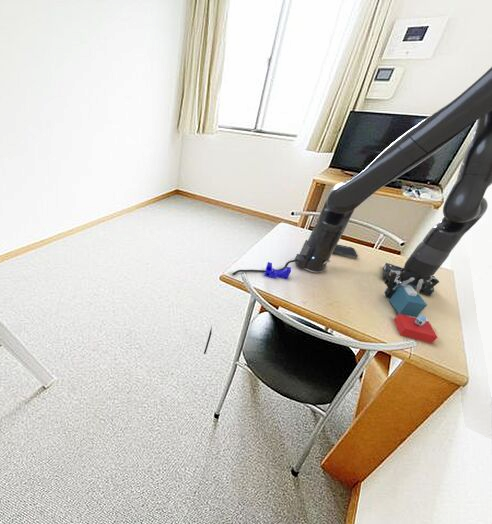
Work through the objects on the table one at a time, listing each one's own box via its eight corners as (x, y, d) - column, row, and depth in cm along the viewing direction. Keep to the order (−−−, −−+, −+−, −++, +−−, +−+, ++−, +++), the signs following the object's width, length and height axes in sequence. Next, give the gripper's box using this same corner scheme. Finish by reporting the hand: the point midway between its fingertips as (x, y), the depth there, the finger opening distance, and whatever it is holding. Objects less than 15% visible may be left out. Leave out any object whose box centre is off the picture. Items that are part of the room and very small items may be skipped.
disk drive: (381, 280, 113) (430, 296, 107) (385, 274, 112) (435, 290, 105) (382, 268, 120) (428, 282, 114) (385, 262, 119) (432, 276, 112)
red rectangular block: (400, 334, 90) (412, 320, 87) (393, 319, 96) (404, 305, 92) (431, 343, 88) (445, 328, 85) (423, 327, 93) (435, 313, 90)
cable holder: (264, 275, 110) (267, 267, 108) (264, 270, 113) (267, 262, 111) (287, 281, 108) (291, 272, 106) (286, 276, 111) (290, 267, 109)
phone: (316, 239, 133) (353, 247, 130) (315, 242, 134) (352, 249, 130) (318, 248, 127) (358, 257, 123) (317, 250, 128) (356, 259, 124)
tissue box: (399, 314, 96) (411, 298, 92) (383, 292, 105) (394, 277, 101) (416, 317, 96) (429, 302, 92) (399, 295, 104) (411, 280, 101)
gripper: (445, 255, 94) (413, 295, 104) (396, 247, 96) (369, 287, 106) (461, 268, 88) (425, 310, 98) (408, 260, 90) (378, 301, 100)
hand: (396, 298), depth 102 cm, fingers closed on tissue box, 5 cm apart
